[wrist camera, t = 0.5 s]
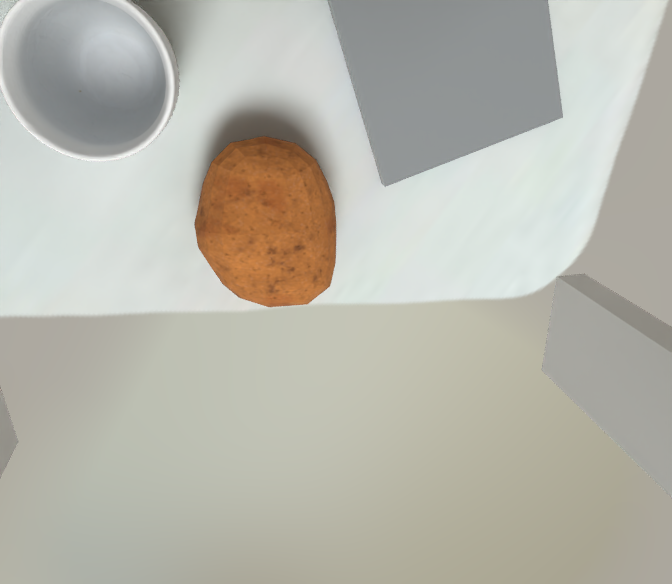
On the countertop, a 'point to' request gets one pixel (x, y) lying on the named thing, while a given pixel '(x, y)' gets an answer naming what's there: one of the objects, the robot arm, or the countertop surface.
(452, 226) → the countertop surface
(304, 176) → the potato
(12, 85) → the mug
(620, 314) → the robot arm
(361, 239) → the countertop surface
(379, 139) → the plate
